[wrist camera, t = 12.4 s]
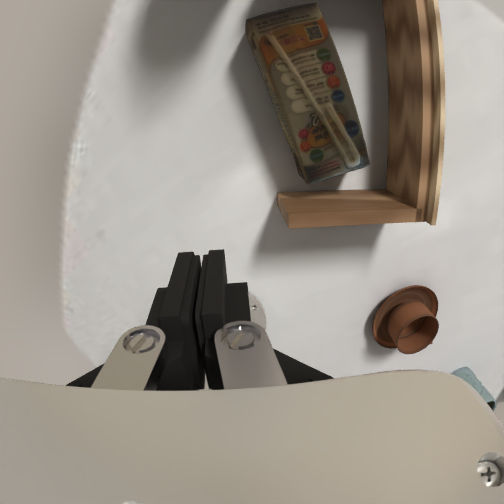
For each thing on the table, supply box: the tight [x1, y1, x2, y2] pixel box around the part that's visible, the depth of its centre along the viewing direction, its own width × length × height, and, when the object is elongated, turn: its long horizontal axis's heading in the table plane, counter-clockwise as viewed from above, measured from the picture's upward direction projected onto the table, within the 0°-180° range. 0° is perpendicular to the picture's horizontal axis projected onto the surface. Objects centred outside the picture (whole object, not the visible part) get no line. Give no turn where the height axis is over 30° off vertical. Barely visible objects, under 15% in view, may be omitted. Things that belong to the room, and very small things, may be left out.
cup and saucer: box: [372, 285, 439, 354], centre depth 45 cm, size 12×12×6 cm
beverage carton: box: [245, 3, 370, 184], centre depth 31 cm, size 8×19×6 cm, turn 20°
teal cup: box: [452, 367, 497, 411], centre depth 53 cm, size 10×10×12 cm
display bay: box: [277, 0, 445, 229], centre depth 29 cm, size 29×16×9 cm, turn 3°
